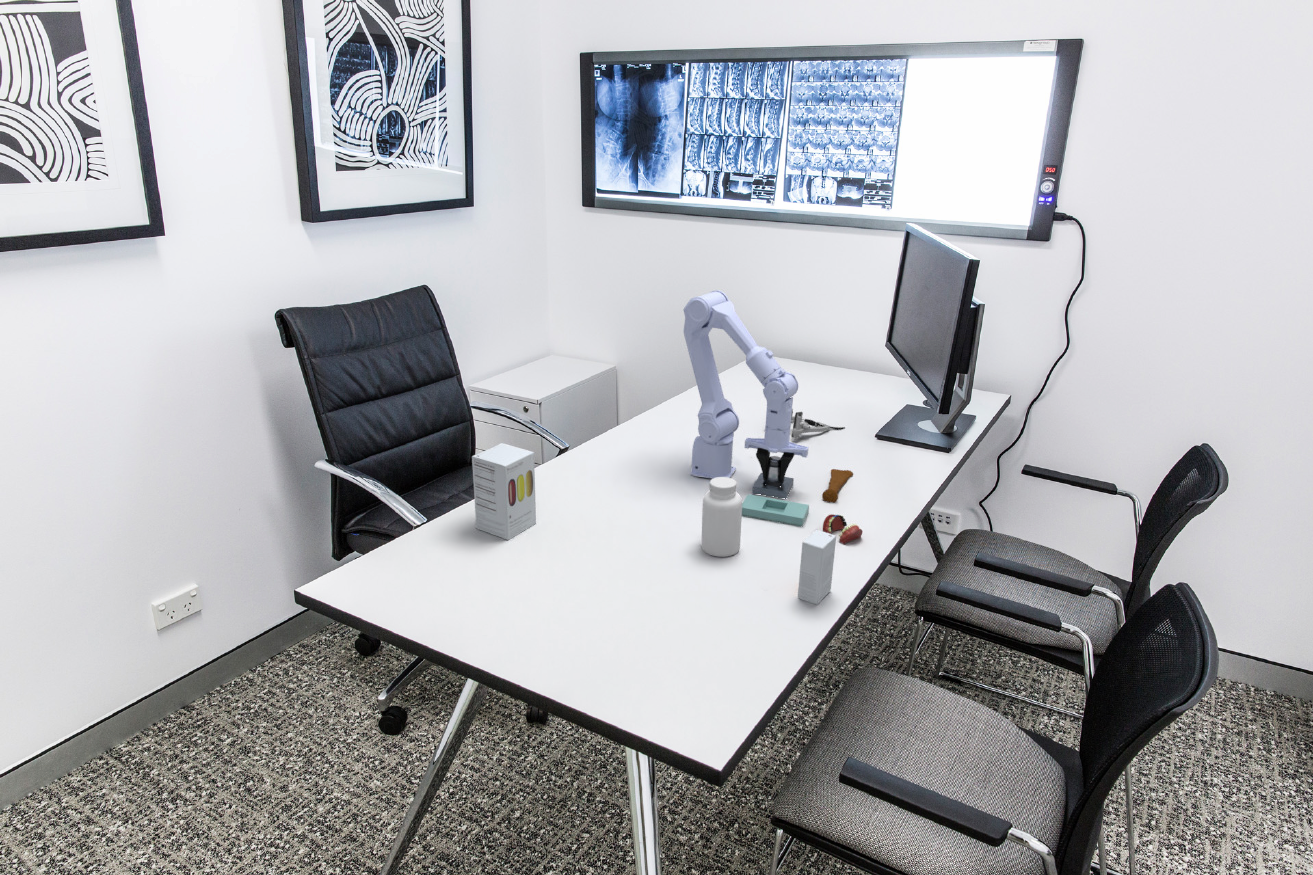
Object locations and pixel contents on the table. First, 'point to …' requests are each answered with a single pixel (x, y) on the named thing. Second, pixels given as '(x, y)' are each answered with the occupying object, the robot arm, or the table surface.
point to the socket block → (772, 487)
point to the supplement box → (504, 490)
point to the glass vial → (773, 471)
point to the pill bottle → (721, 518)
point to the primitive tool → (836, 484)
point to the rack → (775, 510)
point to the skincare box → (816, 566)
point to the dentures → (838, 523)
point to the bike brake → (804, 428)
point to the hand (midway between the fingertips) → (773, 479)
